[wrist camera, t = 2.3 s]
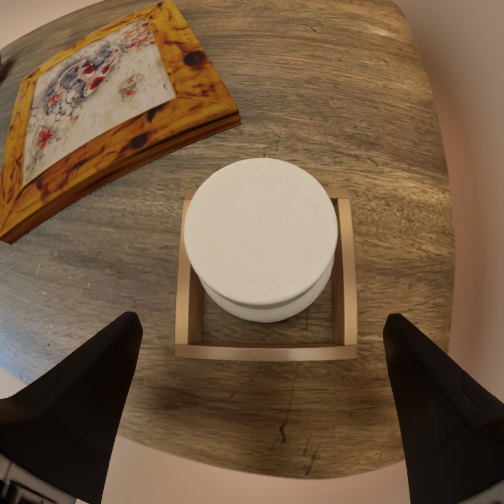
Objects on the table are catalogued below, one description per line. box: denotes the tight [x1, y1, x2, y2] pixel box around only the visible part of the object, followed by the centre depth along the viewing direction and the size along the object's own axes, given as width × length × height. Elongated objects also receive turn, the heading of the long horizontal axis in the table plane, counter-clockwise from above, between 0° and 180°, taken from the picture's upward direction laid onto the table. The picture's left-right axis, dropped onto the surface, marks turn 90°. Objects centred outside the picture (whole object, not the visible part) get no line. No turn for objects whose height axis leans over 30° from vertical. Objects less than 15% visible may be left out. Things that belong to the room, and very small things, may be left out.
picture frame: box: [0, 0, 241, 245], centre depth 26 cm, size 27×2×30 cm
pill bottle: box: [183, 158, 338, 323], centre depth 15 cm, size 6×6×11 cm
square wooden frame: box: [175, 187, 357, 362], centre depth 19 cm, size 11×11×4 cm
